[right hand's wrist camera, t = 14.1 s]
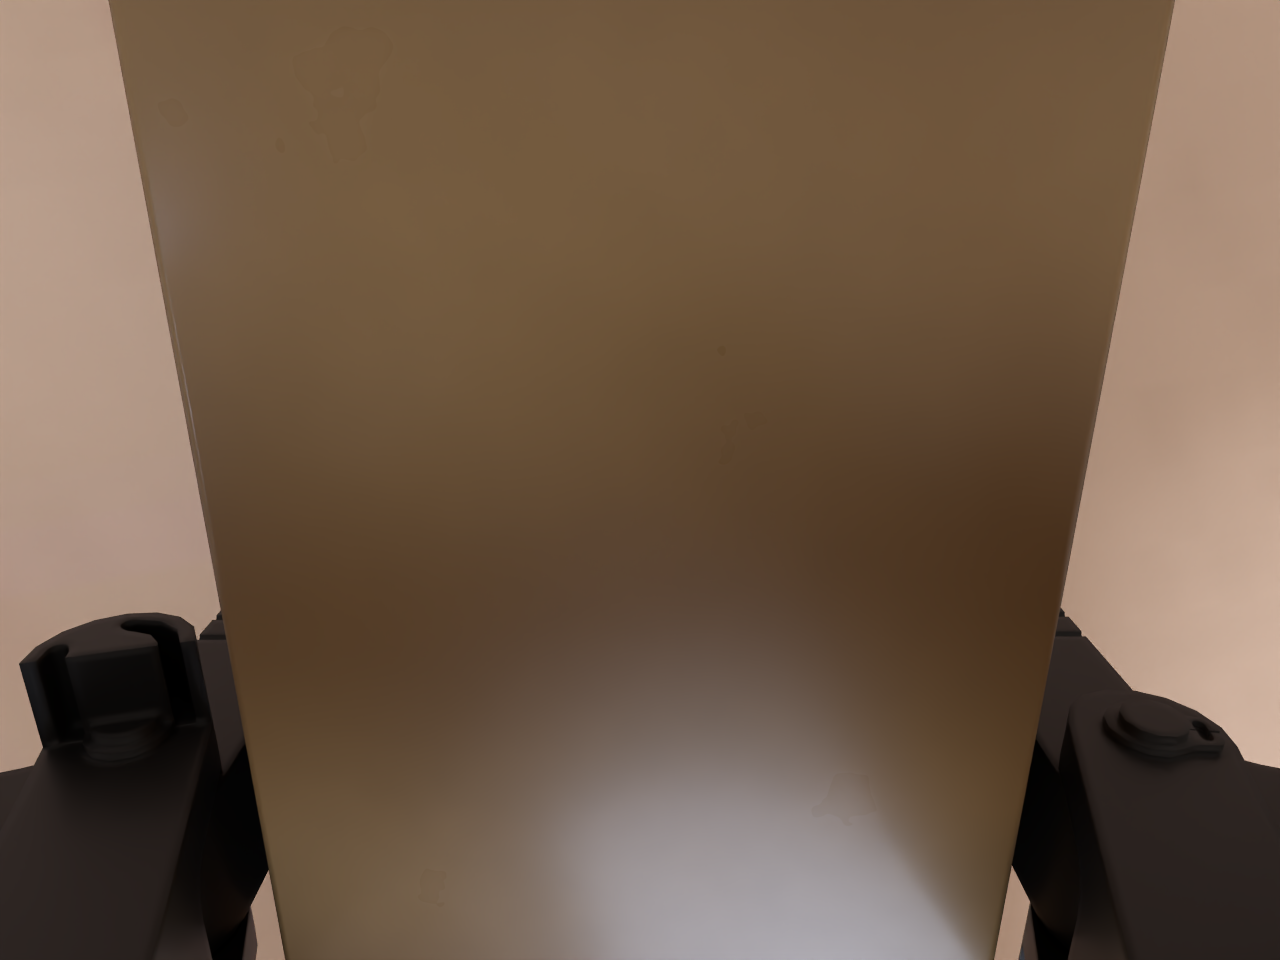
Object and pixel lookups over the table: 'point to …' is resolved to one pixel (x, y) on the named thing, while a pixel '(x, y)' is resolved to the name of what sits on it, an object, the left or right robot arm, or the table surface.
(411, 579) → the beam
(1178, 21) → the table surface
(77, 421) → the table surface
